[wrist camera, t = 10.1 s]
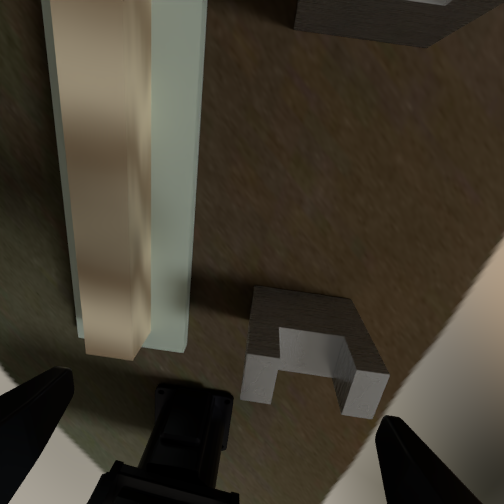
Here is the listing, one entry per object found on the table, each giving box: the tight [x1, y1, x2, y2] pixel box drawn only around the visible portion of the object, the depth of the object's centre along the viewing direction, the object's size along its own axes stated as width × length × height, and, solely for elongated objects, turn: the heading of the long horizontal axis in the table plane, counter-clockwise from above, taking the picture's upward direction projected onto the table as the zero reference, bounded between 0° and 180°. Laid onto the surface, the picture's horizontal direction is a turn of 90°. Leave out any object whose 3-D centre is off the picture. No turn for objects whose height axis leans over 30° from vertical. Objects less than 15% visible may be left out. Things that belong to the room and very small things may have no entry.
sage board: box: [41, 0, 207, 353], centre depth 17 cm, size 27×8×1 cm, turn 172°
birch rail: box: [50, 0, 151, 361], centre depth 15 cm, size 24×3×3 cm, turn 172°
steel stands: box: [240, 0, 504, 419], centre depth 14 cm, size 21×7×7 cm, turn 172°
